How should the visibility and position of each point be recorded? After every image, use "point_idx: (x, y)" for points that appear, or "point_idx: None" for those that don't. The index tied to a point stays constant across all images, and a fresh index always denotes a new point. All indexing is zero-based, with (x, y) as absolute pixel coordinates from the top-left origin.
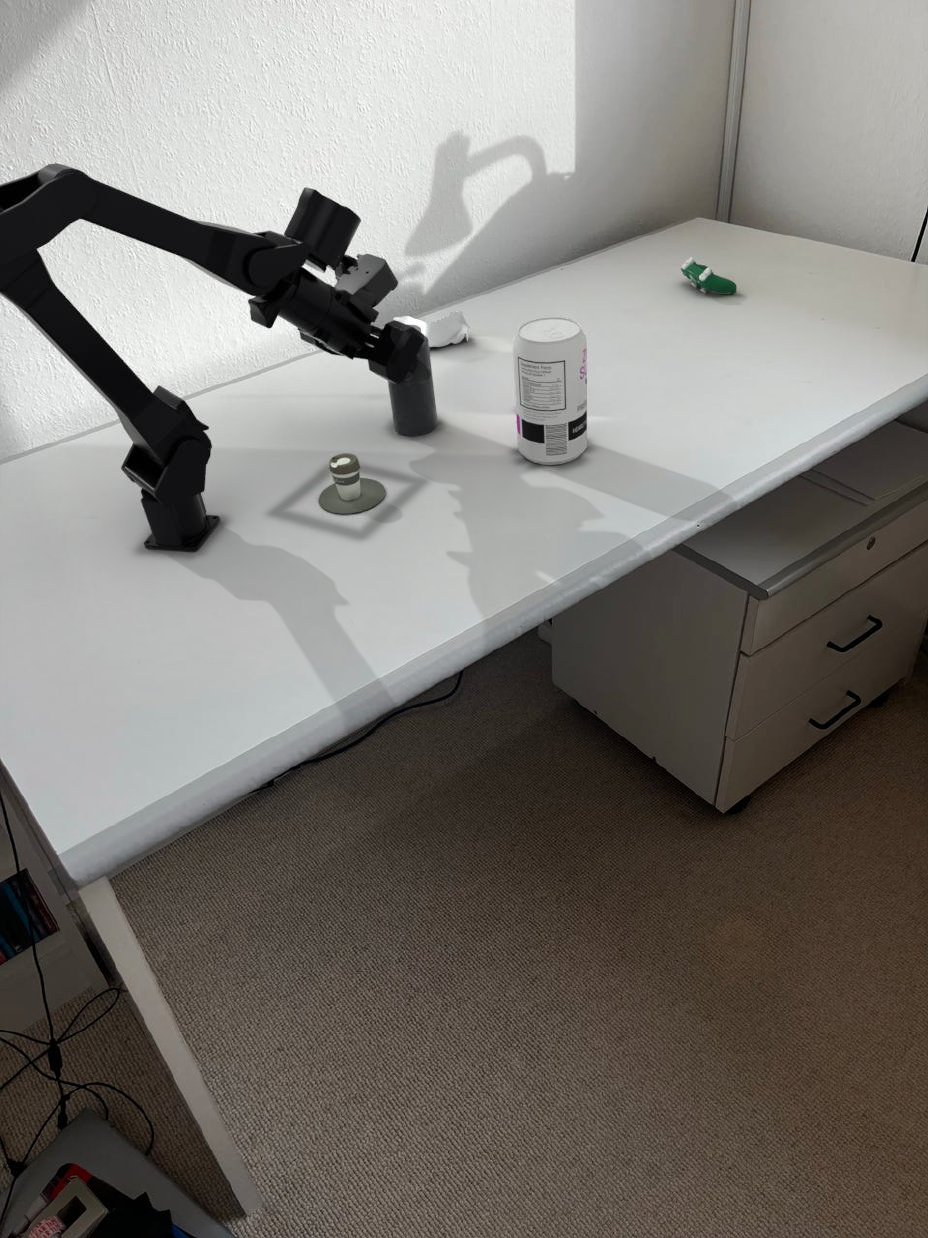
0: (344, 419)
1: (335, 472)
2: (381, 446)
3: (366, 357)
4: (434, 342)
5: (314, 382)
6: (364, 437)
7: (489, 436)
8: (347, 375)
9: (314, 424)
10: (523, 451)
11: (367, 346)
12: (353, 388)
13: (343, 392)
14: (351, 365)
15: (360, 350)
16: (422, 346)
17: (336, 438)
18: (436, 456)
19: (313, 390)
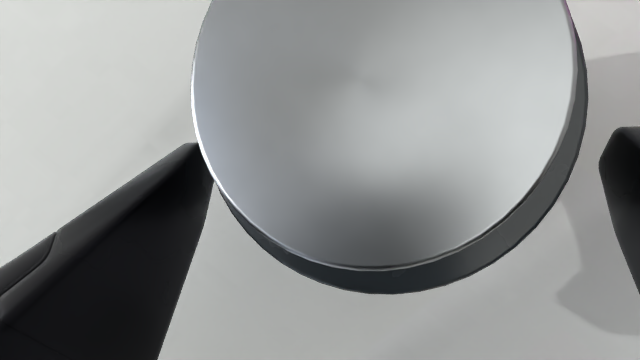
0: (215, 257)
1: None
2: (414, 293)
3: (187, 260)
4: None
5: (16, 184)
6: (335, 288)
7: (636, 38)
8: (40, 107)
9: (182, 322)
10: None
11: (146, 251)
12: (102, 138)
13: (101, 168)
14: (7, 69)
15: (149, 299)
16: (578, 52)
17: (283, 337)
18: (602, 231)
19: (45, 211)
